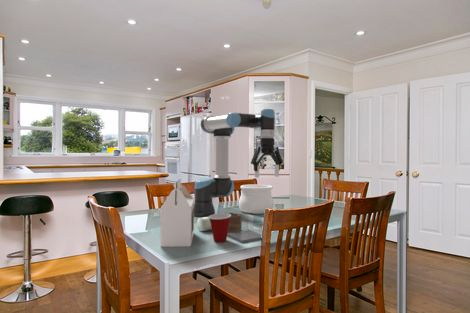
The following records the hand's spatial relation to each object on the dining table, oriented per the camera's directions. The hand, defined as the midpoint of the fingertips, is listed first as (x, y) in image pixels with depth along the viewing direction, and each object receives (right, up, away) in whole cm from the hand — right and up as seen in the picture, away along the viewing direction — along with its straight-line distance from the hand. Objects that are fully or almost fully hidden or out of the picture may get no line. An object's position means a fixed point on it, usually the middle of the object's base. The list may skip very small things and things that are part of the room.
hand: (267, 177), depth 169 cm
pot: (-3, -27, +48) cm, 55 cm away
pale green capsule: (-32, -28, -4) cm, 43 cm away
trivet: (-12, -28, -17) cm, 35 cm away
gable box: (-44, -28, -22) cm, 57 cm away
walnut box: (-20, -28, -4) cm, 35 cm away
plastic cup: (-25, -28, -23) cm, 44 cm away
